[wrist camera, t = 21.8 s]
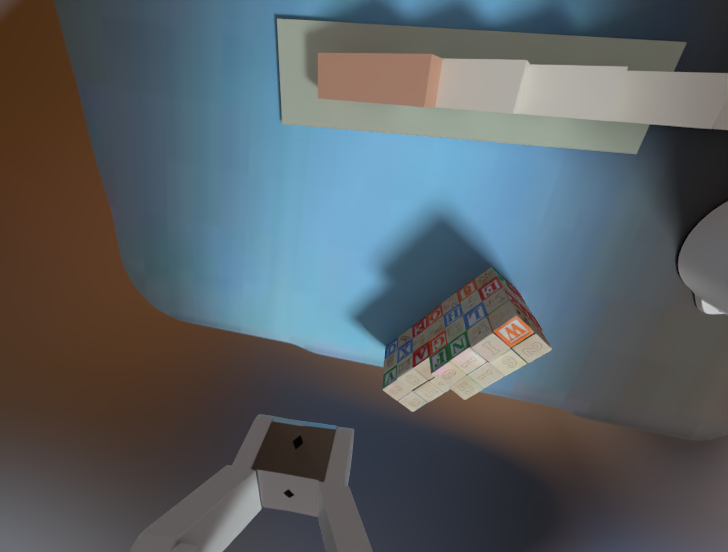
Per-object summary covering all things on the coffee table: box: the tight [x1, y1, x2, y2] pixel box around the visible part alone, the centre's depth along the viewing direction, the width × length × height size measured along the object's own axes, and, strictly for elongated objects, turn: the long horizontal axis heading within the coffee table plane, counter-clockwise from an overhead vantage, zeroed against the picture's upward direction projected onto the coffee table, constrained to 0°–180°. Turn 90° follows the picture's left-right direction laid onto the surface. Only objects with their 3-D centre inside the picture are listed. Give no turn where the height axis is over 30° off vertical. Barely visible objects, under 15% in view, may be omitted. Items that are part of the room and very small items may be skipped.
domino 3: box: [517, 64, 628, 121], centre depth 31 cm, size 3×4×12 cm
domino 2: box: [435, 59, 530, 114], centre depth 31 cm, size 3×4×12 cm
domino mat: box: [277, 19, 687, 154], centre depth 35 cm, size 40×10×1 cm, turn 86°
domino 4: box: [607, 71, 728, 129], centre depth 30 cm, size 3×4×12 cm
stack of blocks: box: [382, 267, 552, 412], centre depth 44 cm, size 21×6×12 cm, turn 138°
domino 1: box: [318, 53, 443, 108], centre depth 32 cm, size 3×4×12 cm
